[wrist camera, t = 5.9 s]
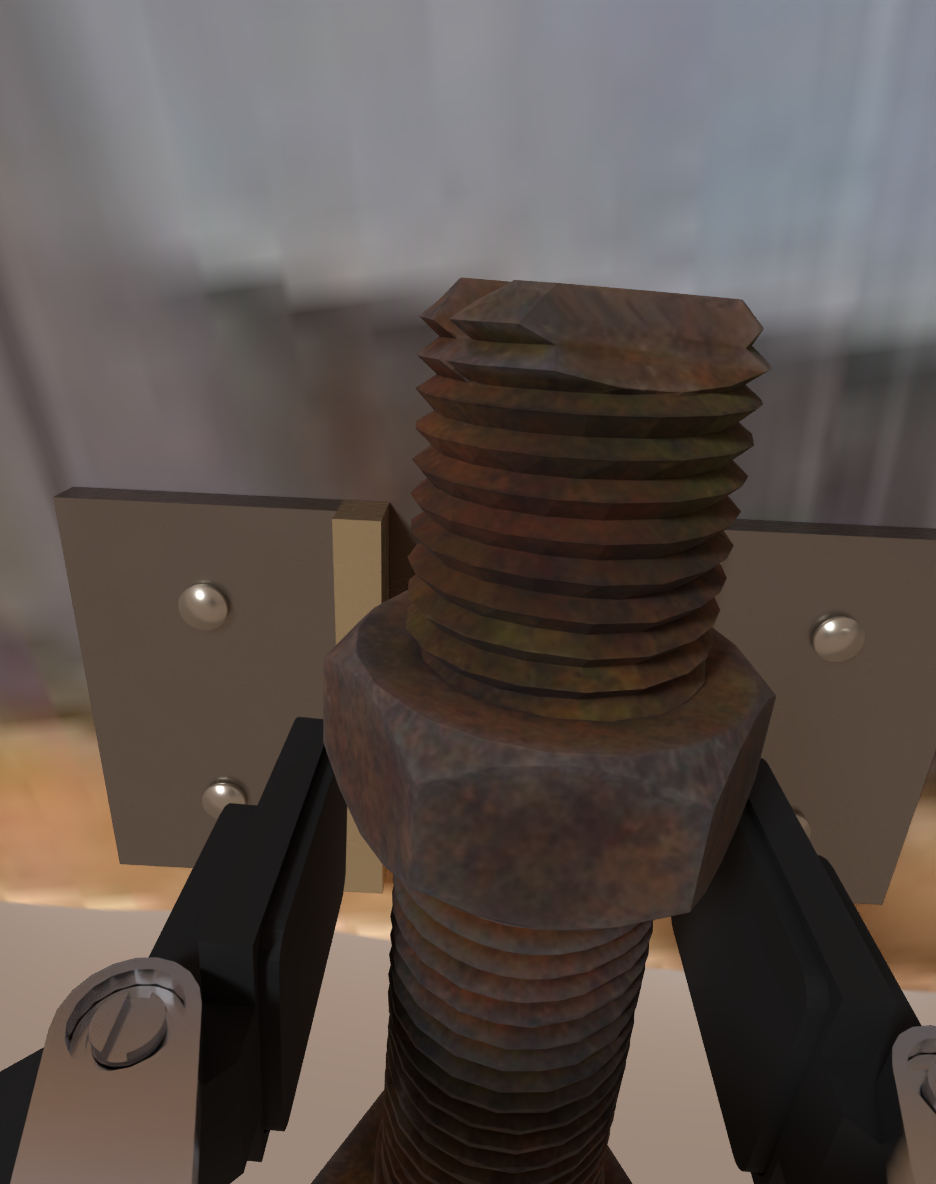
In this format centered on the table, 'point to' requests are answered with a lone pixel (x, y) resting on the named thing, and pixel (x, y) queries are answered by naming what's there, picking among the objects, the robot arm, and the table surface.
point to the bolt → (547, 716)
